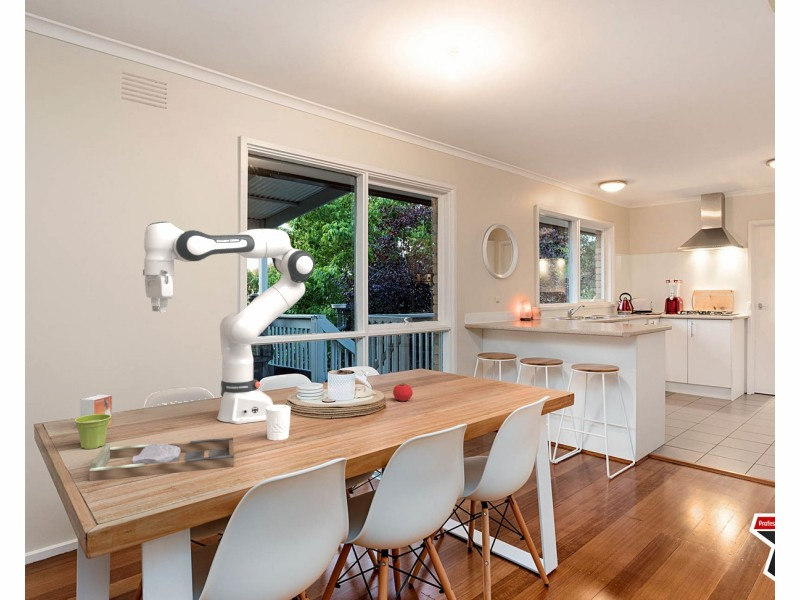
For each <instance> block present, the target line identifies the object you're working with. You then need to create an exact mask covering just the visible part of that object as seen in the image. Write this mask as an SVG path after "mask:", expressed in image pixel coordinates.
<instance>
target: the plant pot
mask: <svg viewBox="0 0 800 600" xmlns="http://www.w3.org/2000/svg"><path fill="white" fill-rule="evenodd" d="M110 418H111V415H108V414H94V415H87V416H82V417H80V416H79V417H77V418H75V419H74V423H76V424H75V425H76V427H77V430H78V434H79V435H78V436H79V441H80V442H79V443H80V448H81V449H85V450H92V449H97V448H99V447H104V446H105V445H106V440H107V439H106V438H107V433H108V427H109V426H108V423H109V419H110Z"/></svg>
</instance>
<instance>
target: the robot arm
mask: <svg viewBox="0 0 800 600" xmlns="http://www.w3.org/2000/svg"><path fill="white" fill-rule="evenodd" d="M143 243H144V244H143V245H144V247H143V248H144V253H145V256H144V259H143V263H144V264H143V265H144V266H143V270H142V276H143V277H144V286H145V288H144V289H145V295H146V297H147V298H150V303H151V311H153V312H159V313H161V314H163V313H165V314H166V313H167V306H168V302H169V300H170V299H173V296H174V286H173V285H174V283H173V277H174V273H175V271H174V269H175V263H174V262H175V260H178V261H180V262H185V263H189V262H199V261H202V260H205V259H206V258H209V256H212V255H221V254H223V255H224V254H238V255H240V256H242V257H243V258H246V259H258V260H259V259H267V258H268V259H270V258H271V260H272V265H273V267H274V268H275V269H274V270H276V271H277V272H278V273H280V274H282V275H281V277H280V279H279V280H278V281H277V282H275V283H274V284H273V285H271V286H270V287H268V288H266V289H265V290H264V291H263V292H262V293H260V294H259V295H257V296H255V298H254V299H252V301H251V302H250V303H248V305H247V306H246V307H245V308H243V309H242V310H241V311H240V312H238V313H237V312H233V313H230V314H227V315H226V316H224V318H222V320H221V321H220V325H219V335H220V336H219V337H220V347H221V350H220V351H221V356H222V359H221V360H222V361H221V362H222V366H221V367H222V373H221V374H222V375H221V376H222V379H221V381H220V382H221V383H220V396H221V397H220V398H221V401H220V405H219V409H218V410H219V411H218V414H217V420H218V421H221V422H225V423H232V424H235V425H238V424H239V425H240V424H246V423H247V424H248V423H254V422H255V423H257V422H266V407H268V406H271V405H274V402H273V400H272V397H271V396H269V395H268V394H266V393H265V392H263V391H262V390H260V387H261V382H259V381H258V380H257V379H254V356H253V352H252V351H253V350H252V343H253V342H254V341H255V340H256V339H257V338H258V336H260V335H261V334H262V333H263V332H265V330H266V329H267V328H268V327H269V326H270V324H272V323H273V322H274V321H275V320H276V319H278V318H279V317H280V316H282V315H283V314H284V313H286V311H288V310H289V309H291V308H292V307H293V306H294V305H296V303H297V302H298V301H299V300H300V299H302V297H303V296H304V295H305V292H306V285H305V283H306V282H307V281H308V279H309V277H310V276H312V274H313V272H314V270H315V266H316V261H315V258H314V256H312V254H310V253H309V252H307V251H306V250H303V249H299V248H293V246H292V245H291V239H290V237H289V234H288V233H287V232H286V231H284V230H283V229H276V228H275V229H274V228H253V229H247V230H243V231H241V232H239V233H236V234H220V235H219V234H217V235H216V234H215V235H211V234H207V233H205V232H202V231H199V230H193V229H191V230H187V231H184V230H182V229H180V228H179V227H176V226H175V225H174V224H173V223H171V222H169V221H159V222H158V221H156V222H152V223H150V224H148V225H147V226H146V228H145V231H144V240H143Z"/></svg>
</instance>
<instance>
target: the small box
mask: <svg viewBox="0 0 800 600" xmlns="http://www.w3.org/2000/svg"><path fill="white" fill-rule="evenodd" d="M79 402H80V403H79V404H80V405H79V417H82V416H87V415H94V414H108V415H111V418H110V419H109V423H108V427H109V426H112V422H113V419H112V417H113V416H112V415H113V395H112V394H111V395H110V394H96V395H92V396H88V397H85V398H81V399H79Z"/></svg>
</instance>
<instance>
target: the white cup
mask: <svg viewBox="0 0 800 600" xmlns="http://www.w3.org/2000/svg"><path fill="white" fill-rule="evenodd" d="M291 407H292V406H291V405H287V404H273V405H271V406H268V407H266V420H265V423H266V426H265V427H266V432H267V434H266V435H267V436H266V437H267V440H269V441H273V442H275V441H276V442H277V441H284V440H287V439H288V438H289V434H290V426H291V425H290V424H291V423H290V422H291Z"/></svg>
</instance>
